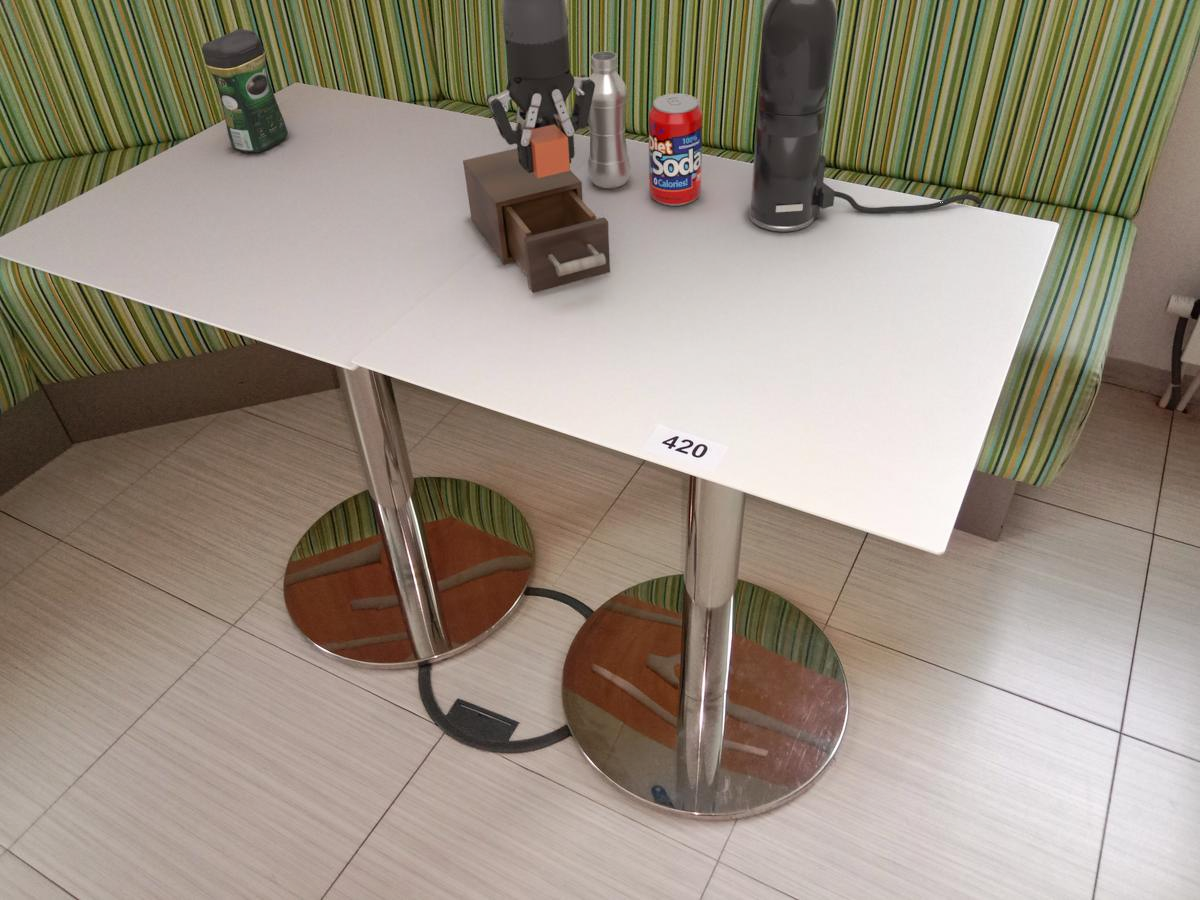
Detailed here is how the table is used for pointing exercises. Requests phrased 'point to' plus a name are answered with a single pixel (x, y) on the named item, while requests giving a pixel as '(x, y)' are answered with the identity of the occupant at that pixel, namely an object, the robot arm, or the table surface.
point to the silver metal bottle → (608, 124)
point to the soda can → (675, 149)
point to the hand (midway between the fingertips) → (547, 165)
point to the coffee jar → (245, 91)
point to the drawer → (556, 240)
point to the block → (549, 151)
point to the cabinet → (506, 192)
